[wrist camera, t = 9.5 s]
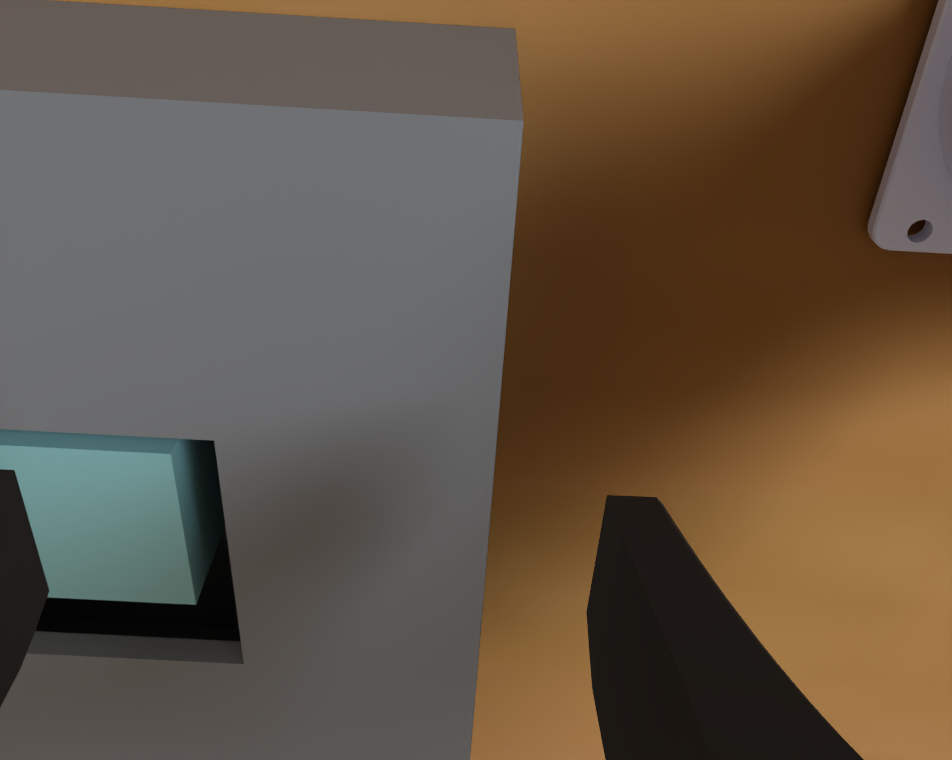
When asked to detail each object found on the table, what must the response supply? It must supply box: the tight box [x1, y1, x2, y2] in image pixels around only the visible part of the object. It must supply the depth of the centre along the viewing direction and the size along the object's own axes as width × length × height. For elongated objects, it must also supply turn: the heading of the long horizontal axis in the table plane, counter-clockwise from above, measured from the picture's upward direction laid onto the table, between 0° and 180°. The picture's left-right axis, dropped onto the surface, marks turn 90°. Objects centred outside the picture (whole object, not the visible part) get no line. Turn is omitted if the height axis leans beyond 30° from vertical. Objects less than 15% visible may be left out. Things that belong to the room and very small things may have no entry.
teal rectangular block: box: [0, 429, 225, 605], centre depth 20 cm, size 4×4×5 cm
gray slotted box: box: [0, 0, 524, 760], centre depth 20 cm, size 16×18×6 cm
